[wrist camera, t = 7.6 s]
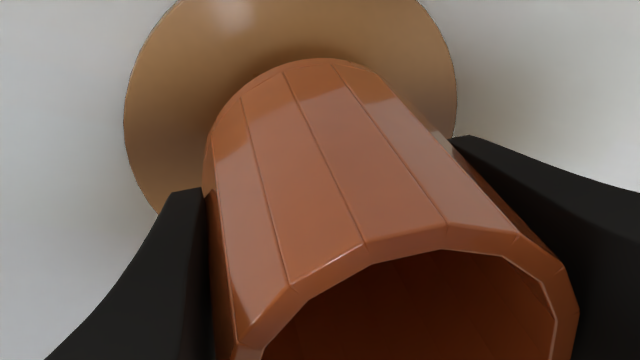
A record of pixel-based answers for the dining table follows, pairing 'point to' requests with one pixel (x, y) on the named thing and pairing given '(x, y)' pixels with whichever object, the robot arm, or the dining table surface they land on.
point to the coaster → (258, 57)
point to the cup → (365, 233)
